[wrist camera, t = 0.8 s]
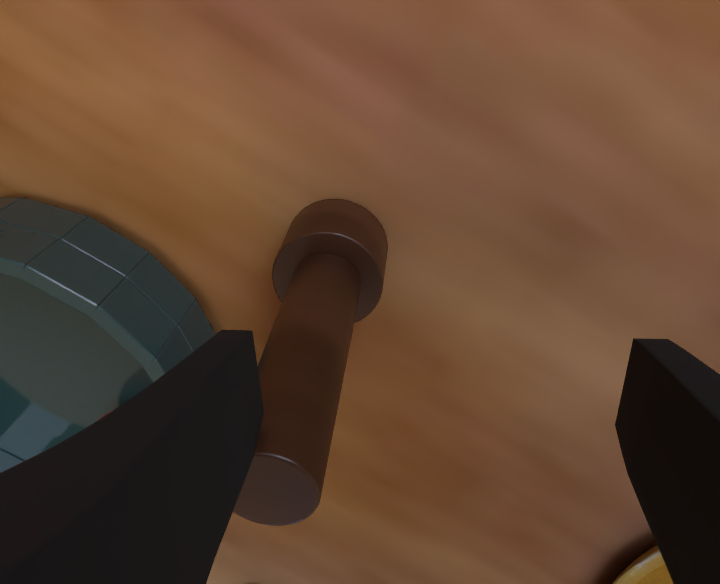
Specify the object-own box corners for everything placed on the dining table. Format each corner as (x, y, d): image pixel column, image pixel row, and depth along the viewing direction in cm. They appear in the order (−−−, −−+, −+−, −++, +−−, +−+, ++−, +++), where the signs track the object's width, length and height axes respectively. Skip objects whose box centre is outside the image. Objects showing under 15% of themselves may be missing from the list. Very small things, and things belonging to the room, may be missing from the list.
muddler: (372, 298, 23) (331, 563, 13) (279, 272, 23) (172, 523, 13) (400, 214, 21) (374, 456, 12) (298, 185, 21) (190, 407, 11)
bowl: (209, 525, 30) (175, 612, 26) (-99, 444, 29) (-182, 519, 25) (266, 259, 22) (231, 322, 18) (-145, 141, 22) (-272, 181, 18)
